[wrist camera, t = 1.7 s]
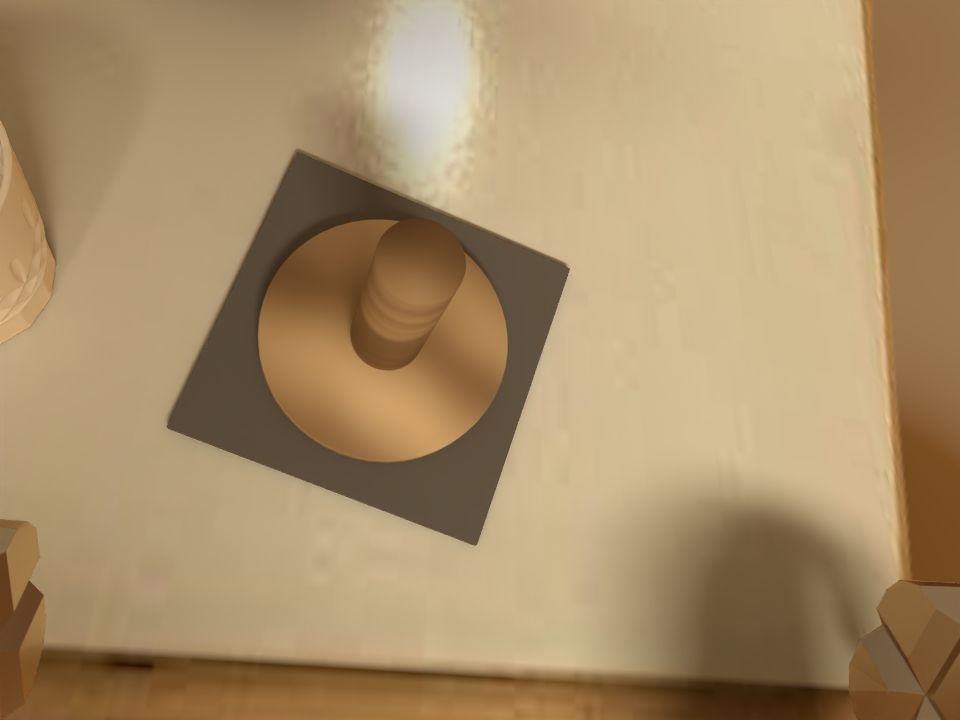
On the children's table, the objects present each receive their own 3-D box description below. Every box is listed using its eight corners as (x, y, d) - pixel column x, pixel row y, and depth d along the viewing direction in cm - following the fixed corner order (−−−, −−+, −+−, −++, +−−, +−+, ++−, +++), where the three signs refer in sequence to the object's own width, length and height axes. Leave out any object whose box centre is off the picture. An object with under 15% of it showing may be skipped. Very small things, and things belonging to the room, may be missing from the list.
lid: (456, 500, 40) (517, 465, 30) (216, 407, 38) (202, 341, 29) (532, 283, 43) (607, 192, 34) (315, 191, 42) (331, 70, 33)
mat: (474, 545, 40) (476, 545, 39) (168, 428, 38) (167, 426, 38) (567, 271, 44) (570, 268, 44) (297, 156, 43) (297, 152, 42)
